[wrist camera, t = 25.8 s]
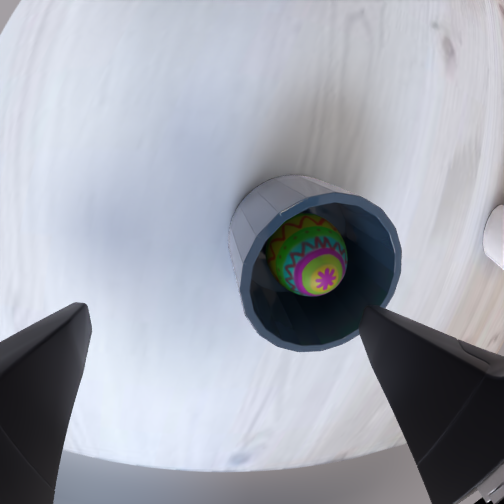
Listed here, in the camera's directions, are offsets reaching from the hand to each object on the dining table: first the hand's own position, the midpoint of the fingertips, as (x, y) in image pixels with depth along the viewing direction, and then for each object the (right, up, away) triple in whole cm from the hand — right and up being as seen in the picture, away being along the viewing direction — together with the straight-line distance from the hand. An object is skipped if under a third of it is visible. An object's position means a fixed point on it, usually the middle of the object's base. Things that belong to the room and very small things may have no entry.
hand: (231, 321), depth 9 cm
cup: (+3, +3, +12) cm, 13 cm away
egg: (+4, +3, +12) cm, 13 cm away
